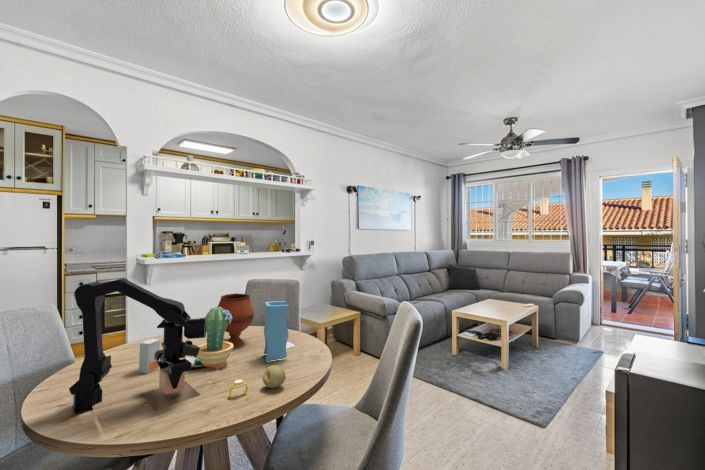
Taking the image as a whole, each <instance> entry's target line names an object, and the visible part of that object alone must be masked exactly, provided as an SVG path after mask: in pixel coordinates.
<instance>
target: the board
mask: <svg viewBox="0 0 705 470" xmlns="http://www.w3.org/2000/svg"><path fill="white" fill-rule="evenodd" d="M141 395H142V397H143V398H144V399H145V400H146V402H147V404H149V406H150V407H151V409H153V411H157V410H160V409H164V408H167V407H170V406H172V405H176V404H179V403H181V402H185V401H186V400H187V401H188V400H190V399H194V398H196V397H200V396H201V394H200V393H199V391H197V390H196V389H195V388H194V387H192V386H191V385H190V384H189V383H188V382H187V381H185V383H184V389H182V390H179V391H178V395H176V396H172V397H169V398H168V397H167V396H166V395H164V393H163V392H162V391H161V390H160V389H159V388H158V389H157V390H153V391H150V392H146V393H143V394H141Z"/></svg>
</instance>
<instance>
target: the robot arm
mask: <svg viewBox="0 0 705 470" xmlns="http://www.w3.org/2000/svg"><path fill="white" fill-rule="evenodd" d="M73 292H74V293H73V295H74V299H75V303H76V306H77V307H78V309H79V311H80V312H81V314H82V334H83V349H84V350H83V353H84V359H83V361H82V363H81V366H80V371H79V378H78V380H77V381H75V383H74V384H72V385H71V386H70V387H69V388H68V389H69V393H70V394H71V395H73V397H72V405H71V408H72V412H73V414H74V415H77V414H81V413H84V412H88V411H91V410H93V409H94V408H93V406H95V405H97V404H100V403H102V402H103V389H102V387H101V385H100V383H101V382H102V381H103V379H104V378H105V377H106V376H107V375H108V374H109V373H110V370H111V368H112V367H113V365H112V362H111V361H112V360H111V359H112V356H111V355H110V354H109V355H108V356H107V355H106V354H105V353H104V349H103V346H104V345H103V329H102V328H103V327H102V313H101V311H102V307H103V303H104V301H105V295H108V294H109V295H110V294H112V293H120V294H121V295H124V296H125V297H128V298H130V299H132V300H134V301H136V302H138V303H140V304H142V305H144V306H146V307H148V308H150V309H152V310H153V311H154V312H155V314H156V315H158V316H159V317H161V318H162V320H161V322H160V323H159V324H158V325H157V326H156V329H163V341H162V342H160V346H161V347H162V349H160V350H158V351H157V352H156V353H155V354H154V359H155V360H156V361H158V360H159V361H158V362H157V364H158V366H159V368H158V369H159V370H160V369H163V368H167V367H168V370H167V371H166V372H167V375H168V377H169V380H170V382H171V385H172V387H173V389H175V388H177V386H178V383H179V380H180V377H181V375H182V373H183V372H184V371H185V372H188V371H191V370H192V369H193V366H192V365H193V364H192V361H190V360H188V359H187V358H186V357H187V356H188V357H193V358H197V357H198V353H199V350H200V347H198V346H199V345H196V344H193V341H192V340H190V339H205V338H207V325H206V318H205V317H200V318H191V316H190V315H189V313H187V311H186V307H185V305H184V303H183V302H181V301H178V300H174V299H172V298H165V297H162V296H159V295H158V294H157V293H156V294H155V293H153V292H152V291H150V290H147V289H146V288H144V287H141V286H140V285H138V284H135V283H134V282H132V281H130V280H128V279H127V278H124V277H122V278H118V279H115V280H111V281H105V282H102V283H101V282H99V281H91V282H87V283H85V284H81V285H79V286H77V288H75V290H74V291H73ZM183 336H184V337H185V338H186V340H185V341H183ZM188 339H189V340H188Z"/></svg>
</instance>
